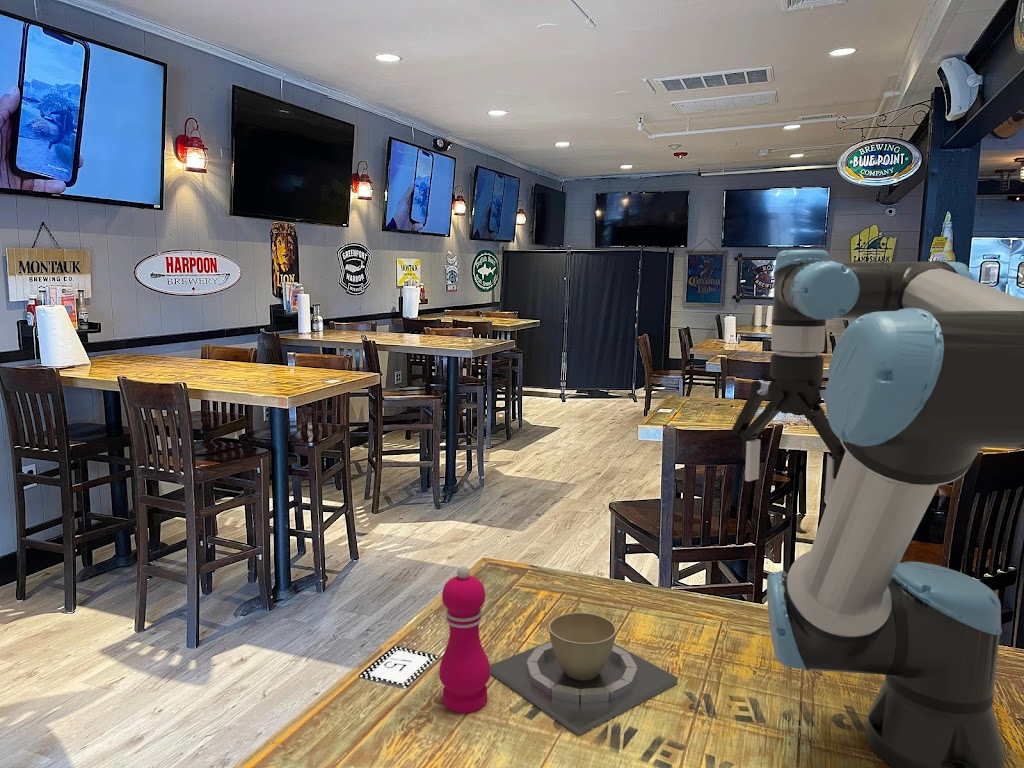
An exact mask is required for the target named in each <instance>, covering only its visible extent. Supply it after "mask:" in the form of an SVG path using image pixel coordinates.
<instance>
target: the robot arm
mask: <svg viewBox="0 0 1024 768" xmlns="http://www.w3.org/2000/svg"><path fill="white" fill-rule="evenodd" d="M774 268H775V269H774V271H773V277H774V279H773V280H774V285H773V307H772V308H773V309H772V310H773V311H772V313H773V314H772V327H771V343H770V350H771V351H773V352H774V353H773V354H772V355H770V363H769V365H770V367H769V368H770V369H769V376H770V378H771V379H770V382H767V380H766V379H758V380H753V381H752V382H751V384H750V385H751V387H750V394H749V396H748V397H747V399H746V401H745V403H744V405H743V407H742V409H741V411H740V413H739V415H738V417H737V419H736V421H735V422H734V423H733V427H732V428H731V433H732V434H733V435H738V436H739V437H740V438H741V440H742V445H741V446H742V448H741V450H742V451H741V456H742V459H744V460H745V467H744V468H745V473H744V481H745V482H752V481H755V480H759V475H760V455H761V439H758V435H759V434H761V432H762V431H763V430H764V429H765V428H766V427H767V426H768V425H769V424H770V422H771V421H772V420H774V418H775V417H776V416H777V415H778V414H779V413H782V414H785V415H786V414H792V415H794V416H804V417H805V419H806V420H807V421H809V422H810V423H811V425H812V426H813V428H814V429H815V431H816V433H817V434H818V436H819V437H820V438H821V440H822V442H823V443H824V445H825V446H826V447H827V449H828V450H829V452H830V453H831V456H828V457H826V460H827V461H826V472H825V473H826V475H825V477H826V478H825V488H824V489H825V490H824V501H827V503H826V506H825V508H824V512H823V514H822V517H821V519H820V523H819V526H818V529H817V532H816V535H815V537H814V540H813V542H812V546H811V549H810V551H807V552H805V553H803V554H801V555H800V556H798V557H797V558H796V559H795V560H794V562H793V563H792V564H791V567H790V568H789V570H788V572H786V571H785V570H779V571H773V572H770V573H769V574H768V575H767V578H766V599H767V612H768V613H767V614H768V621H769V623H768V624H769V629H770V636H771V643H772V647H773V648H772V649H773V652H774V655H775V659H776V661H778V663H779V664H781V666H783V667H786V668H791V669H798V670H803V671H804V672H810V671H817V672H818V671H819V672H832V673H833V672H834V673H835V672H837V673H854V674H868V675H883V676H885V677H884V682H883V684H882V686H881V687H880V689H879V691H878V694H877V695H876V697H875V699H874V701H873V703H872V705H871V706H870V710H869V711H868V713H867V716H866V718H867V719H866V726H865V727H866V728H865V735H866V740H867V742H868V745H869V747H870V748H871V750H872V751H873V752H874V753H875V754H876V755H877V756H878V758H880V759H881V760H882V761H883V762H885V763H886V764H888V765H889V766H890V767H892V768H1005V760H1006V756H1005V755H1006V754H1005V749H1004V745H1003V742H1002V738H1001V734H1000V731H999V727H998V724H997V721H996V716H995V714H994V713H995V712H994V710H993V704H994V703H993V702H994V691H995V685H996V675H997V665H998V655H999V646H1000V637H1001V635H1002V633H1003V629H1002V615H1001V614H1002V605H1001V601H1000V599H999V597H998V596H997V594H996V592H995V591H994V590H993V589H991V588H990V587H989V586H987V585H986V584H984V583H983V582H981V581H979V580H978V579H976V578H974V577H971V576H969V575H967V574H964V573H963V572H960V571H957V570H954V569H951V568H949V567H945V566H941V565H937V564H933V563H927V562H920V561H903V562H901V561H902V559H903V556H904V555H905V553H906V551H907V548H908V547H909V545H910V543H911V540H912V539H913V537H914V535H915V533H916V531H917V529H918V527H919V525H920V523H921V521H922V519H923V518H924V515H925V514H926V511H927V509H928V508H929V505H930V504H931V503H932V500H933V498H934V495H935V494H936V492H937V490H938V489H939V486H944V485H946V484H949V483H952V482H955V481H957V480H958V479H960V478H962V477H963V476H964V475H965V474H966V473H967V472H968V470H969V469H970V467H971V466H972V465H973V463H974V461H975V459H976V457H977V456H978V454H979V452H980V451H981V449H984V448H997V449H998V448H1000V449H1004V448H1005V449H1024V299H1023V298H1020V297H1017V296H1015V295H1012V294H1011V293H1010V294H1009V293H1008V292H1005V291H1003V290H999V289H997V288H994V287H992V286H989V285H986V284H984V283H981V282H979V281H976V280H974V276H973V273H972V272H971V270H970V268H969V266H967V264H965V263H962V262H960V261H959V262H958V261H945V260H937V259H935V260H932V261H896V262H895V261H893V262H892V261H891V262H889V261H887V262H885V261H838V262H837V261H835V260H830V254H829V252H828V251H827V250H823V249H789V250H786V249H785V250H781V251H779V252H778V253H777V255H776V258H775V267H774ZM835 319H854V320H853V321H852V322H851V323H849V324H848V326H847V327H846V328H845V329H844V330H843V332H842V334H841V336H840V337H839V338H838V341H837V343H836V344H835V346H834V349H833V352H832V355H831V359H830V360H829V361H830V362H829V366H828V368H827V369H828V370H827V374H828V380H827V381H828V382H827V383H826V384H825V389H823V386H822V380H823V378H824V364H825V363H824V362H825V359H824V357H823V355H822V354H821V355H820V353H823V352H824V351H825V341H826V327H827V326H826V323H827V322H826V321H827V320H835ZM767 394H769V395H770V397H771V400H770V401H769V402H768V403H767V404H766V406H764V409H763V411H761V412H760V413H759V414H758V416H757V417H756V418H755V415H756V414H757V413H758V410H759V408H760V406H761V404H762V402H763V400H764V399H765V396H767ZM821 400H823V403H825V410H824V408H822V406H821V404H820V401H821ZM825 413H826V415H825ZM754 418H755V419H754ZM753 419H754V420H753Z"/></svg>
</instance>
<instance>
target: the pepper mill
mask: <svg viewBox="0 0 1024 768" xmlns="http://www.w3.org/2000/svg"><path fill="white" fill-rule="evenodd" d="M456 573H457V574H456V576H453V577H452V578H450V579H448V580H447V582H446V583H445V584H444V586H443V589H442V592H441V593H442V594H441V597H442V598H441V599H442V603H443V605H444V606H445V607H444V608H446V612H445V616H446V618H445V621H446V624H447V625H449V637H448V641H447V645H446V648H445V650H444V651H443V655H442V656H441V660H440V663H439V674H438V675H439V680H440V682H441V684H442V686H444V687H443V689H442V702H443V705H444V706H445V707H446V708H447V709H448V710H449V711H452V712H455V713H460V714H467V713H474V712H477V711H479V710H480V709H483V707H484V706H485V705H486V704H487V702H488V687H487V684H488V682H489V680H490V677H491V674H490V665H491V664H490V661H489V658H488V656H487V653H486V652H485V650H484V647H483V645H482V642H481V639H480V632H479V631H480V629H479V628H480V627H479V626H480V623H481V622H482V621H483V616H482V614H483V610H482V609H481V608H482V607H483V605H484V603H485V601H486V590H485V587H484V585H483V583H482V582H481V580H479V578H477V577H475V576H473V575H470V574H471V571H470V569H469V567H467V566H464V565H463V566H460V567H459V568H457V571H456Z"/></svg>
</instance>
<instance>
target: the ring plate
mask: <svg viewBox="0 0 1024 768" xmlns="http://www.w3.org/2000/svg"><path fill="white" fill-rule="evenodd" d="M490 676H493V677H494V678H496V679H497V680H498V681H500V682H501V683H503V684H504V685H505V686H507V687H508V688H509V689H511V690H512V691H514V692H516V693H517V694H518V695H520V696H521V697H522V698H524V699H525V700H526V701H529V702H530V703H531V704H533V705H534V706H536V707H537V708H538V709H539V710H541V711H542V712H543V713H545V714H547V715H548V716H549V717H550V718H552V719H554V720H555V721H557V722H558V723H559V724H561V725H562V726H564V727H565V728H566V729H567V730H569V731H571V732H572V733H574V734H575V735H576V736H578V737H580V736H582V735H584V734H586V733H588V732H589V731H591V730H593V729H595V728H596V727H595V726H597V727H599V726H601V725H602V724H601V723H603V722H605V723H606V722H608V721H610V720H612V719H614V718H616V717H617V715H618V716H619V714H620V715H621V713H622V714H623V713H625V712H627V711H629V710H631V709H633V708H635V707H637V706H638V705H640V704H642V703H644V702H646V701H648V700H649V699H651V698H653V697H655V696H657V695H659V694H661V693H663V692H666V690H669V689H670V688H673V687H674V686H676V685H678V681H679V680H678V679H679V678H678V676H676V675H674V674H672V673H670V672H669V671H667V670H665V669H663V668H660V667H659V666H657V665H655V664H653V663H651V662H649V661H647V660H646V659H644V658H642V657H640V656H638V655H637V654H635V653H633V652H630V651H629V650H627V649H625V648H623V647H622V646H619V645H617V644H616V643H614V645H613V648H612V651H611V653H610V656H609V658H608V660H607V662H606V664H605V665H604V667H603V669H602V670H601V671H600V673H599V674H598V675H597V676H596V677H595V678H593V679H590V680H576V679H573V678H571V677H569V676H567V675H566V673H565V672H564V670H563V669H562V667H561V666H560V664H559V662H558V660H557V658H556V655H555V653H554V650H553V647H552V644H551V640H549V641H546V642H544V643H542V644H539V645H537V646H534V647H532V648H530V649H528V650H527V649H526V650H525V651H522V652H520V653H517V654H515V655H512V656H509V657H507V658H505V659H502V660H500V661H498V662H495V663H492V664H490ZM636 705H637V706H636ZM613 717H614V718H613ZM609 719H610V720H609ZM607 720H608V721H607ZM600 724H601V725H600ZM603 724H604V723H603ZM598 725H599V726H598ZM594 727H595V728H594ZM592 728H593V729H592ZM588 730H589V731H588ZM587 731H588V732H587ZM585 732H586V733H585ZM583 733H584V734H583Z"/></svg>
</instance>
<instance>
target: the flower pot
mask: <svg viewBox="0 0 1024 768" xmlns="http://www.w3.org/2000/svg"><path fill="white" fill-rule="evenodd" d="M616 626H617V625H615V624H614V622H613V621H611V620H610V619H609V618H607V617H605V616H602V615H601V614H596V613H591V612H583V611H580V612H577V611H576V612H568V613H562V614H559V615H557V616H555V617H554V618H552V619H551V620H550V621H549V624H548V632H549V633H548V634H549V639H550V641H551V644H552V647H553V650H554V653H555V655H556V658H557V660H558V662H559V664H560V666H561V667H562V669H563V670H564V672H565V673H566V675H567V676H569V677H571V678H573V679H576V680H590V679H593V678H595V677H596V676H597V675H598V674H599V673H600V671H601V670H602V669H603V667H604V665H605V664H606V662H607V660H608V658H609V656H610V653H611V651H612V648H613V645H614V644H615V641H616V637H617V636H616V635H617V627H616Z"/></svg>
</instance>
